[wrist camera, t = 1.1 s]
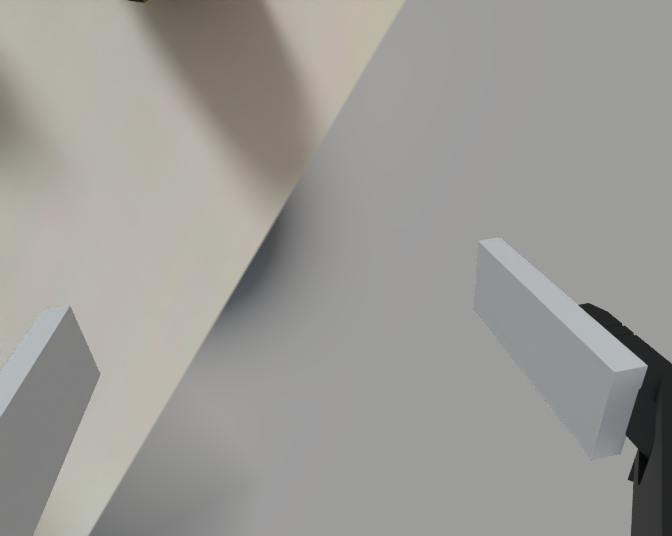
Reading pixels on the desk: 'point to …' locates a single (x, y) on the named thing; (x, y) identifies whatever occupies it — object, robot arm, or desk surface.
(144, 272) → the desk surface
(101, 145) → the desk surface
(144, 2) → the white black rounded piece
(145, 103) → the desk surface
